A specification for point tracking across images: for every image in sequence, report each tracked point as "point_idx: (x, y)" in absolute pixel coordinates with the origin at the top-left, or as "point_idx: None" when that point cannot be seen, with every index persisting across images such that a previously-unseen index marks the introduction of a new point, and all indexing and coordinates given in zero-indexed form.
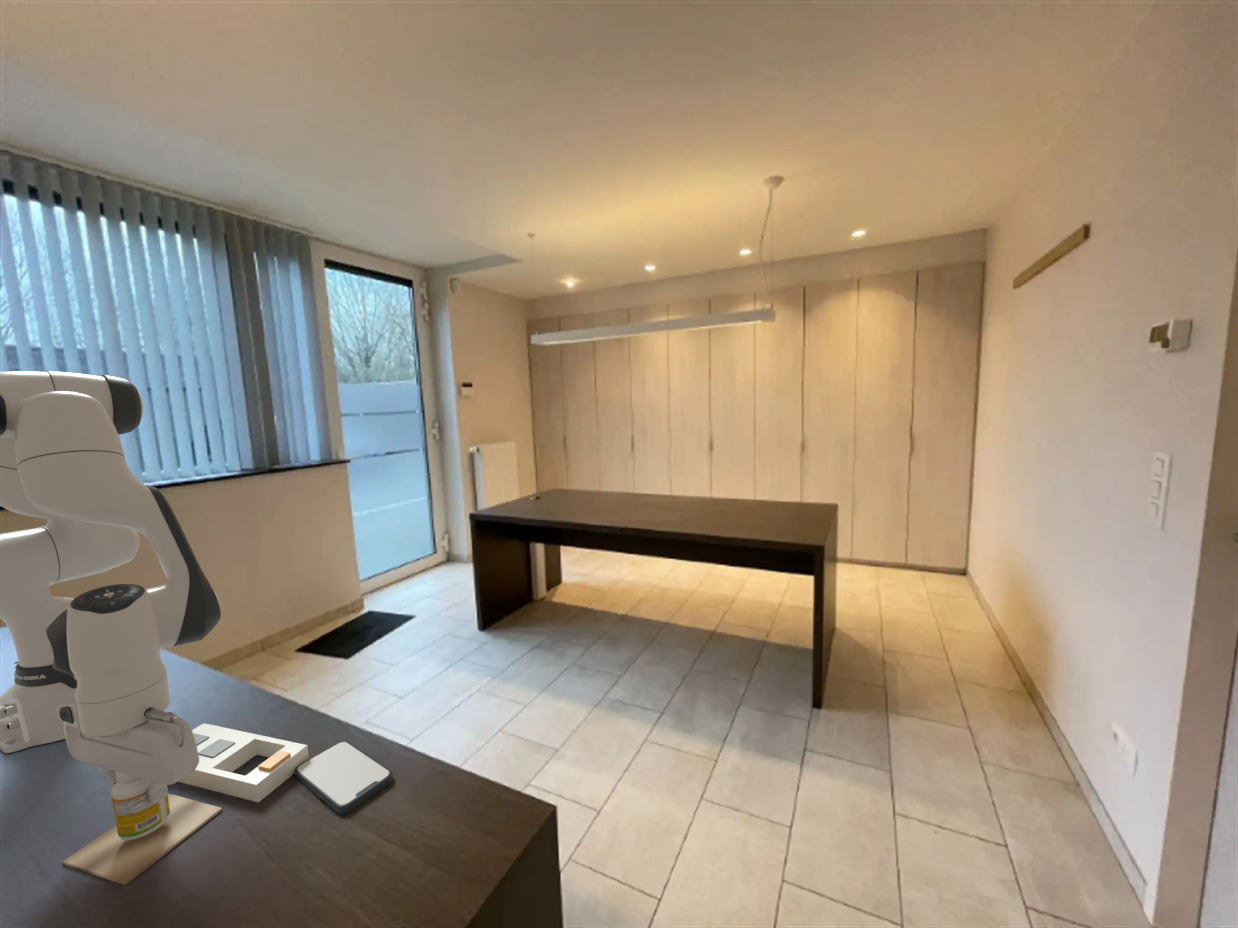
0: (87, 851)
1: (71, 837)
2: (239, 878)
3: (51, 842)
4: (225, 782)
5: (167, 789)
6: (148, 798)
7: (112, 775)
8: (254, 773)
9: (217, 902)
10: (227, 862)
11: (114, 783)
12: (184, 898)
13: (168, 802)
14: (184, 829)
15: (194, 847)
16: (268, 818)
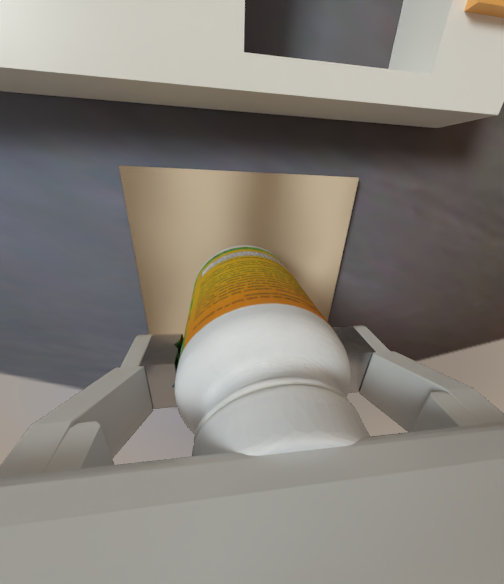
0: None
1: (76, 324)
2: (496, 295)
3: (53, 342)
4: (338, 107)
5: (372, 334)
6: None
7: (123, 433)
8: (460, 50)
9: (482, 328)
10: (459, 280)
11: (157, 408)
12: (430, 337)
13: (283, 266)
14: (321, 253)
15: (373, 274)
16: (489, 172)
